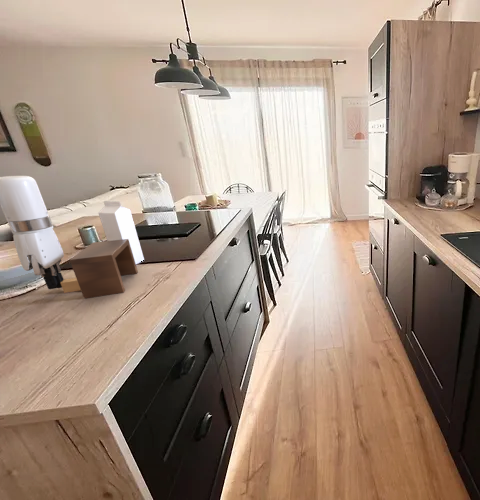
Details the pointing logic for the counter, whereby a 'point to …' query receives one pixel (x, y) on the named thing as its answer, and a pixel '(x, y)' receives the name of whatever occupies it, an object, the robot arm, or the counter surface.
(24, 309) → the counter surface
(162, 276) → the counter surface
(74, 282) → the fish slice
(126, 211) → the milk
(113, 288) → the stand
